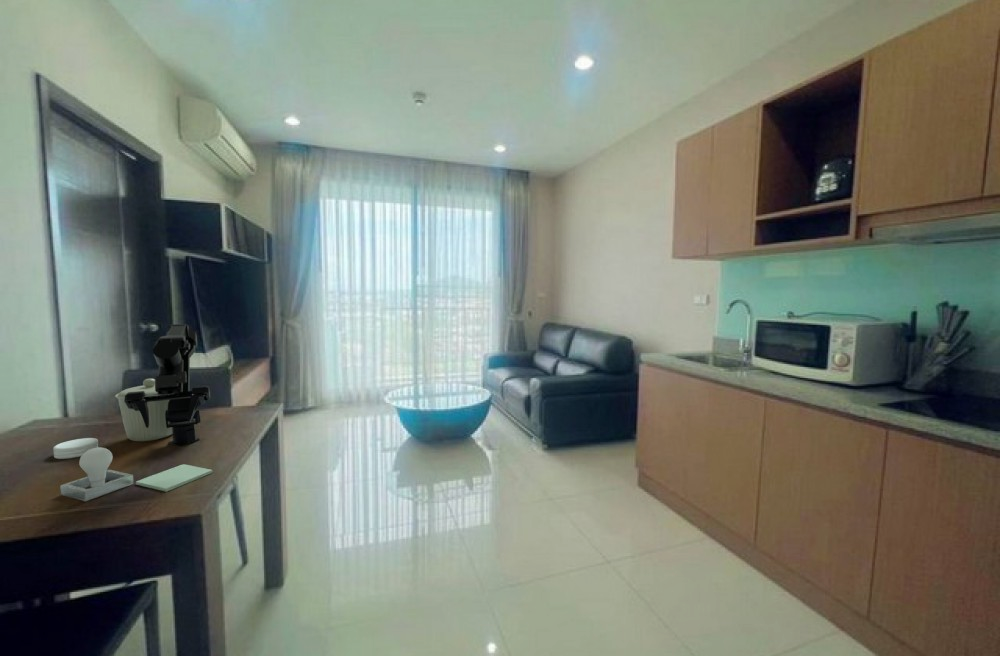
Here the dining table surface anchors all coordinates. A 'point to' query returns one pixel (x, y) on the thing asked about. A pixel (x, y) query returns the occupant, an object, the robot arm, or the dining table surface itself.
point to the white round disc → (74, 448)
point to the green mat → (174, 477)
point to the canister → (134, 418)
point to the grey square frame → (78, 486)
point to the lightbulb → (96, 464)
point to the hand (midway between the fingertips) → (168, 424)
